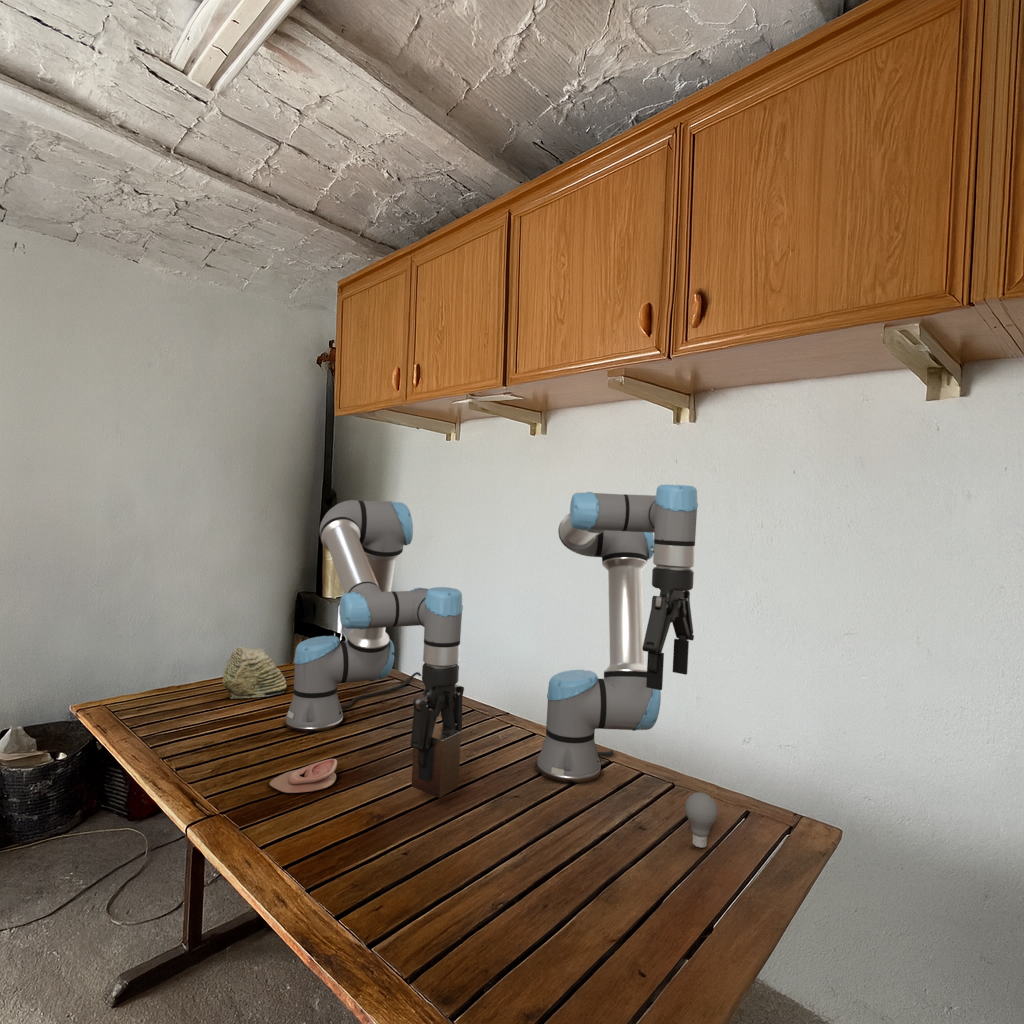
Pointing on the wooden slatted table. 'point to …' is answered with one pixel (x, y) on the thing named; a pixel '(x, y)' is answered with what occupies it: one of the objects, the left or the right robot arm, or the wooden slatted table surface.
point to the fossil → (252, 674)
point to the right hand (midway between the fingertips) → (667, 680)
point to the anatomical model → (307, 778)
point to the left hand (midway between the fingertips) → (435, 773)
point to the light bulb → (701, 816)
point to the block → (440, 762)
